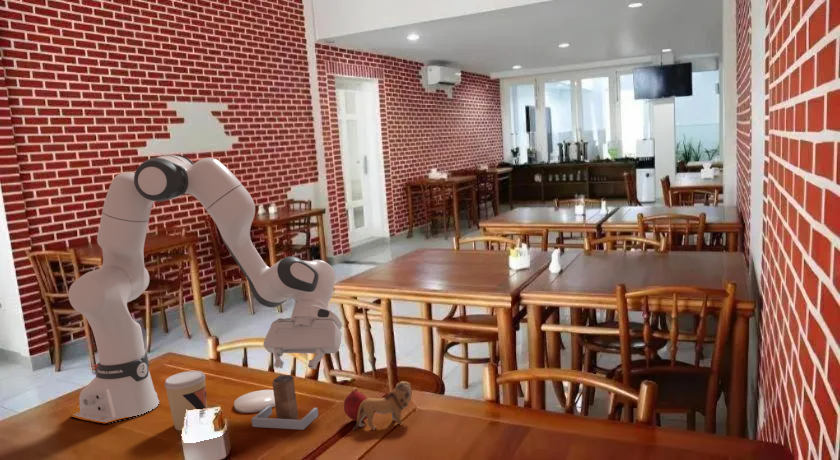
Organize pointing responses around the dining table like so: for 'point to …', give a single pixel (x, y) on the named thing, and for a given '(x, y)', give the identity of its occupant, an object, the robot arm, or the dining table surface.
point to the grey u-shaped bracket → (282, 420)
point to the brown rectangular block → (285, 397)
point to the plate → (255, 401)
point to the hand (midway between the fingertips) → (294, 367)
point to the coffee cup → (185, 394)
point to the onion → (353, 403)
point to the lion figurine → (385, 405)
